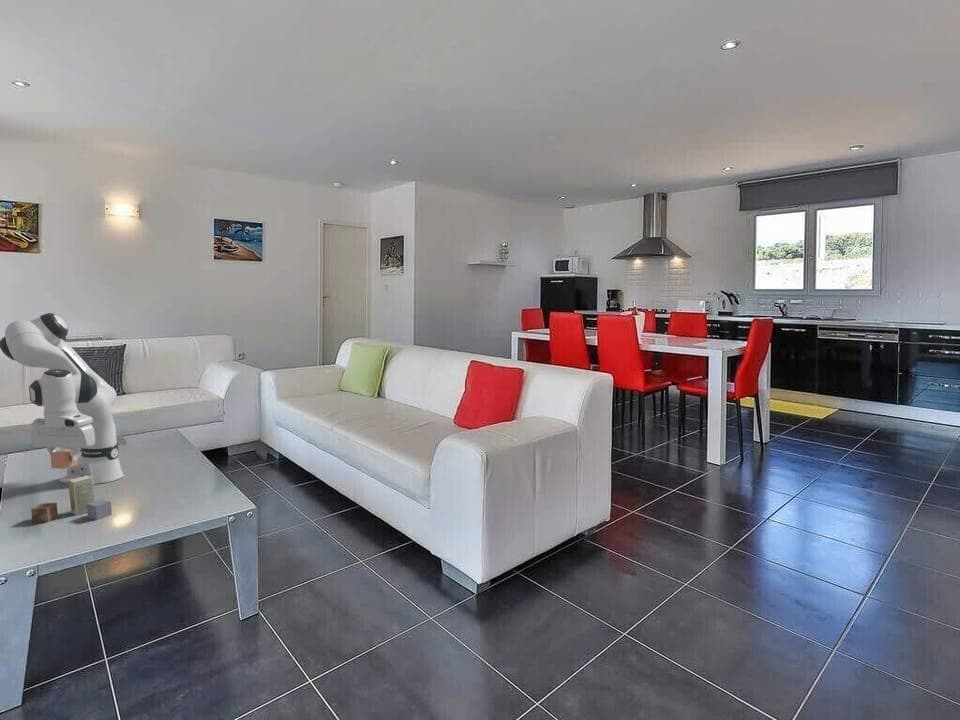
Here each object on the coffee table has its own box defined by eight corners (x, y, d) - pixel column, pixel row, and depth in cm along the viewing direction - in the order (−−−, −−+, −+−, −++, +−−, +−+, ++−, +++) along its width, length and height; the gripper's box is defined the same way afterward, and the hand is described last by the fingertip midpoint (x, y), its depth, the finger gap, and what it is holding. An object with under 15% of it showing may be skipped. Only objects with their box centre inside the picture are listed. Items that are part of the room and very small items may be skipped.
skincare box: (90, 507, 200) (88, 474, 199) (96, 510, 198) (93, 477, 196) (70, 513, 195) (67, 479, 193) (75, 515, 192) (72, 482, 191)
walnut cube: (32, 523, 186) (31, 508, 186) (42, 517, 191) (41, 503, 191) (48, 522, 187) (47, 508, 186) (57, 516, 192) (56, 502, 191)
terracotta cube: (51, 468, 181) (50, 453, 181) (64, 463, 186) (63, 449, 186) (65, 468, 181) (64, 453, 180) (78, 464, 186) (76, 449, 185)
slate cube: (87, 517, 191) (86, 503, 190) (102, 512, 196) (101, 499, 195) (97, 520, 189) (96, 506, 188) (111, 515, 194) (110, 501, 193)
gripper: (23, 420, 180) (27, 461, 181) (81, 422, 177) (84, 464, 179) (41, 415, 186) (44, 455, 187) (97, 417, 184) (100, 458, 185)
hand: (64, 459), depth 183 cm, fingers closed on terracotta cube, 5 cm apart
